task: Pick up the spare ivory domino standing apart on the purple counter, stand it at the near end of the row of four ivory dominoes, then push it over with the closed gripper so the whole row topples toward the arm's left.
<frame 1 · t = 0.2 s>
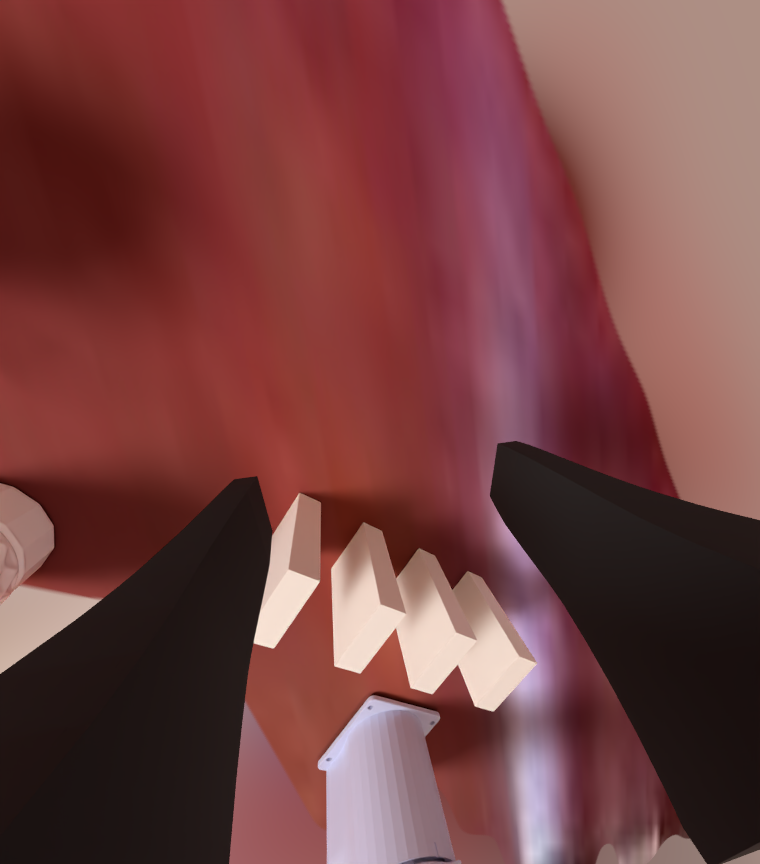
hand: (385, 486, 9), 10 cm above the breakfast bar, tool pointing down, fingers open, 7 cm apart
domino 5: (294, 523, 21), on the breakfast bar
domino 2: (458, 594, 25), on the breakfast bar
domino 3: (410, 573, 24), on the breakfast bar
domino 4: (356, 549, 22), on the breakfast bar
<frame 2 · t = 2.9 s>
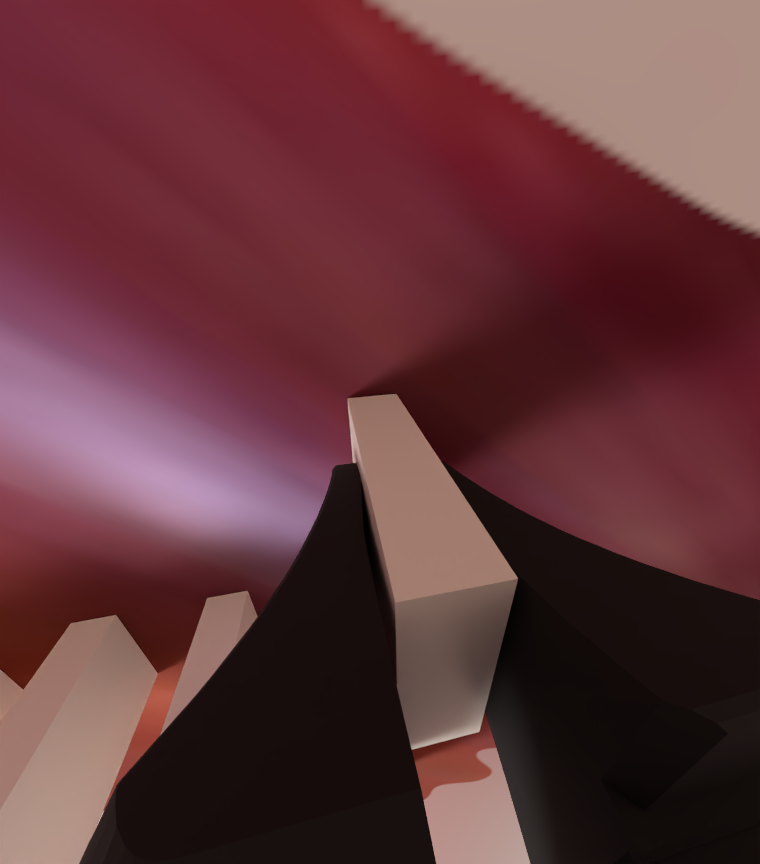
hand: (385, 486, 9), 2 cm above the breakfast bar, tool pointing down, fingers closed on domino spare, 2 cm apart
domino 2: (241, 625, 14), on the breakfast bar
domino 3: (118, 650, 13), on the breakfast bar
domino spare: (374, 454, 11), on the breakfast bar, touching gripper
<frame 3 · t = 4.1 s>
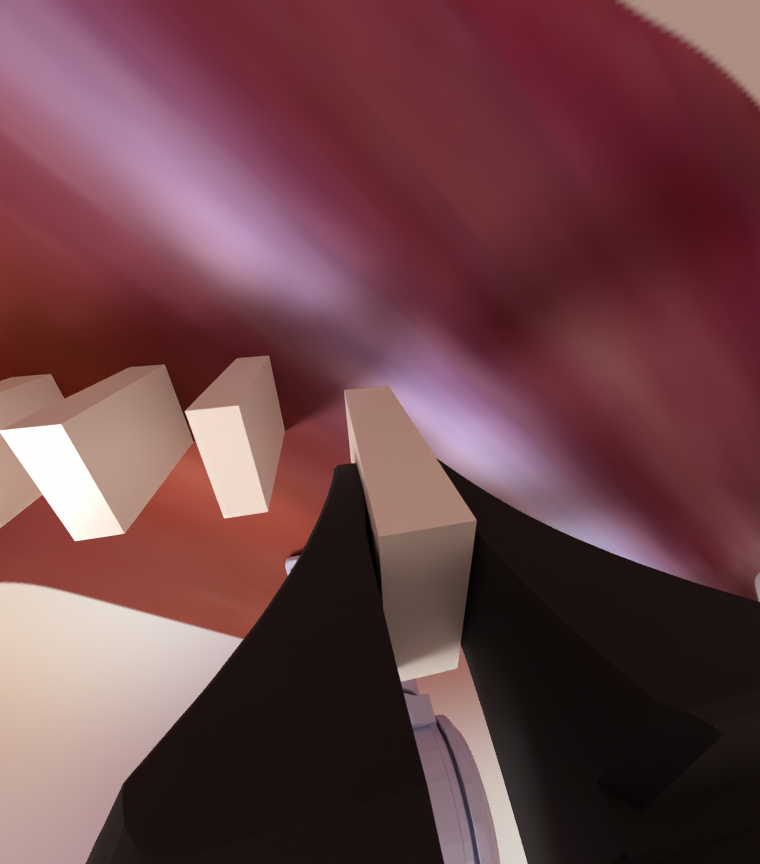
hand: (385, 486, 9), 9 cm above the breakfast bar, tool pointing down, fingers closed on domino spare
domino 2: (262, 397, 17), on the breakfast bar
domino 3: (163, 407, 16), on the breakfast bar
domino 4: (56, 418, 15), on the breakfast bar
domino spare: (369, 441, 12), point 6 cm above the breakfast bar, touching gripper
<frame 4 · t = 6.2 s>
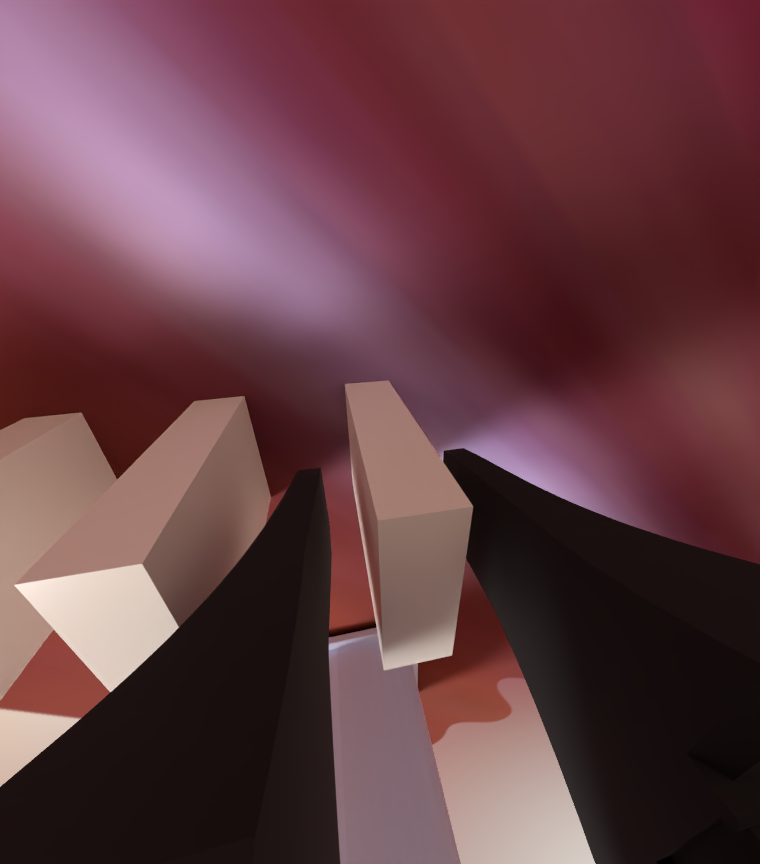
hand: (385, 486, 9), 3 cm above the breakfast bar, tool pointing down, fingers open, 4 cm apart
domino 2: (236, 453, 11), on the breakfast bar
domino 3: (86, 472, 11), on the breakfast bar
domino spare: (369, 436, 12), on the breakfast bar
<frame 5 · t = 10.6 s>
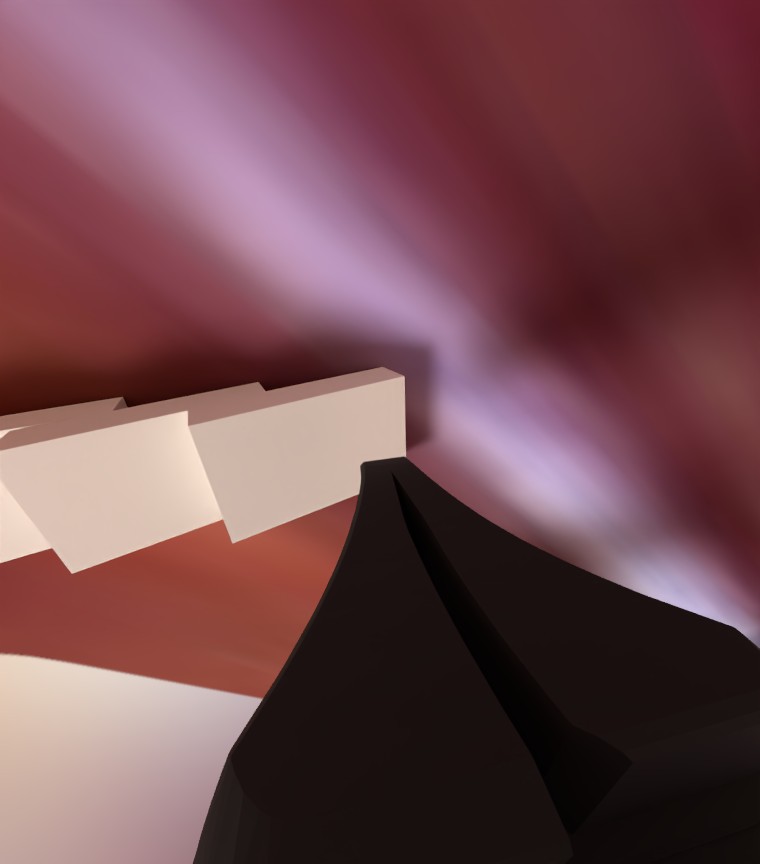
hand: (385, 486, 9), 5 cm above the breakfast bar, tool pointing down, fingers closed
domino 2: (275, 440, 12), point 1 cm above the breakfast bar, tilted 70°, touching domino 3, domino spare
domino 3: (142, 458, 12), point 1 cm above the breakfast bar, tilted 73°, touching domino 2, domino 4
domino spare: (394, 422, 13), point 1 cm above the breakfast bar, tilted 71°, touching domino 2
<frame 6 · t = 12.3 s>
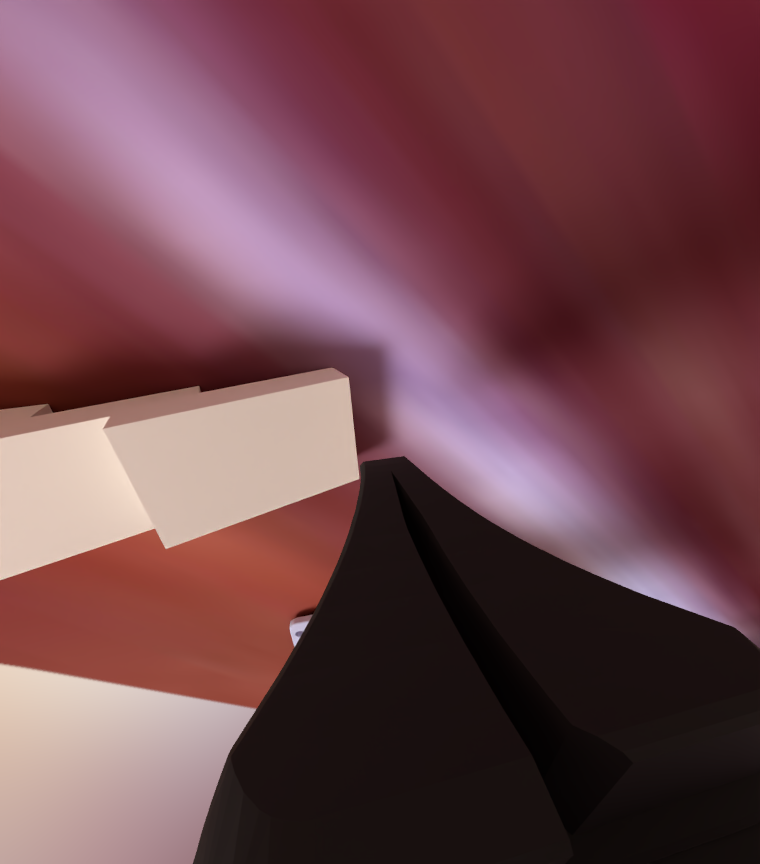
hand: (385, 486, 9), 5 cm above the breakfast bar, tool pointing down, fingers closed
domino 2: (218, 445, 12), point 1 cm above the breakfast bar, tilted 72°, touching domino 3, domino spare
domino 3: (67, 467, 11), point 1 cm above the breakfast bar, tilted 76°, touching domino 2, domino 4
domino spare: (346, 424, 13), point 1 cm above the breakfast bar, tilted 71°, touching domino 2
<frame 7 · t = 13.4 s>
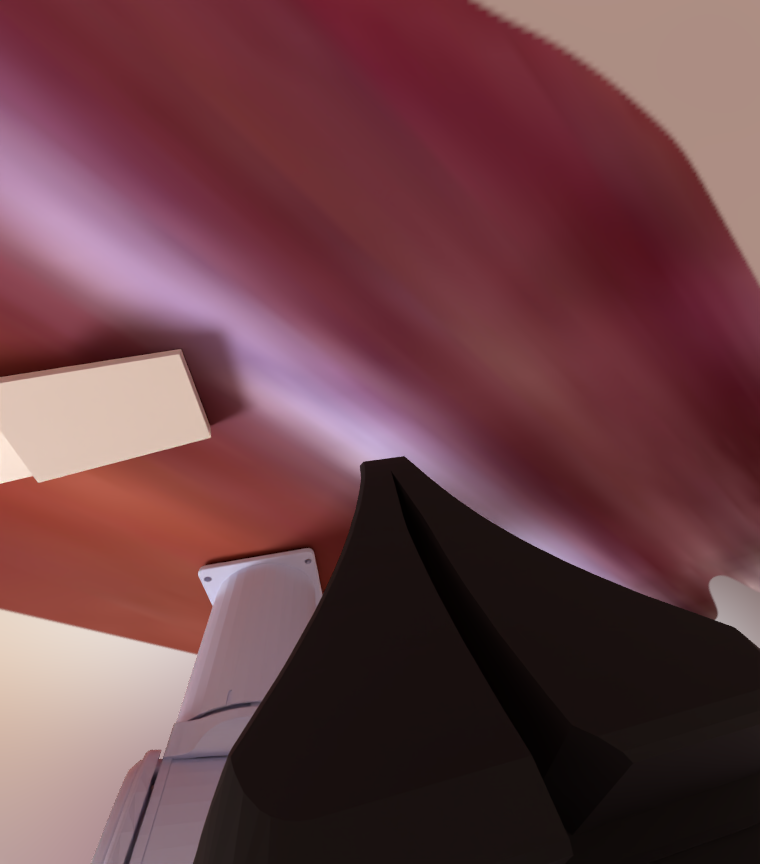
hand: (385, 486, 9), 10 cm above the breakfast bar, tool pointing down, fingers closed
domino 2: (93, 413, 16), point 1 cm above the breakfast bar, tilted 80°, touching domino 3, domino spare
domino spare: (196, 394, 16), point 1 cm above the breakfast bar, tilted 72°, touching domino 2
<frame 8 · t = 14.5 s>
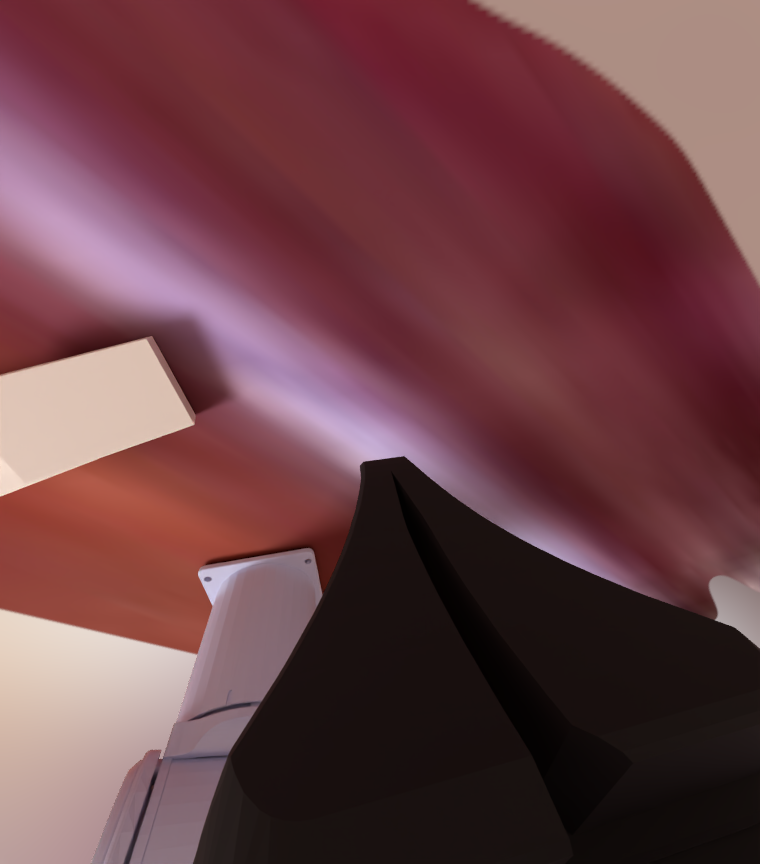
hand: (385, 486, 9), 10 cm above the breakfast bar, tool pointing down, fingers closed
domino 2: (73, 416, 15), point 1 cm above the breakfast bar, tilted 78°, touching domino 3, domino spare
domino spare: (173, 381, 15), point 1 cm above the breakfast bar, tilted 73°, touching domino 2
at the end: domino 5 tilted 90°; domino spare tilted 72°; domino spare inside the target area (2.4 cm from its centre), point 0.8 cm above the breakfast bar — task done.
